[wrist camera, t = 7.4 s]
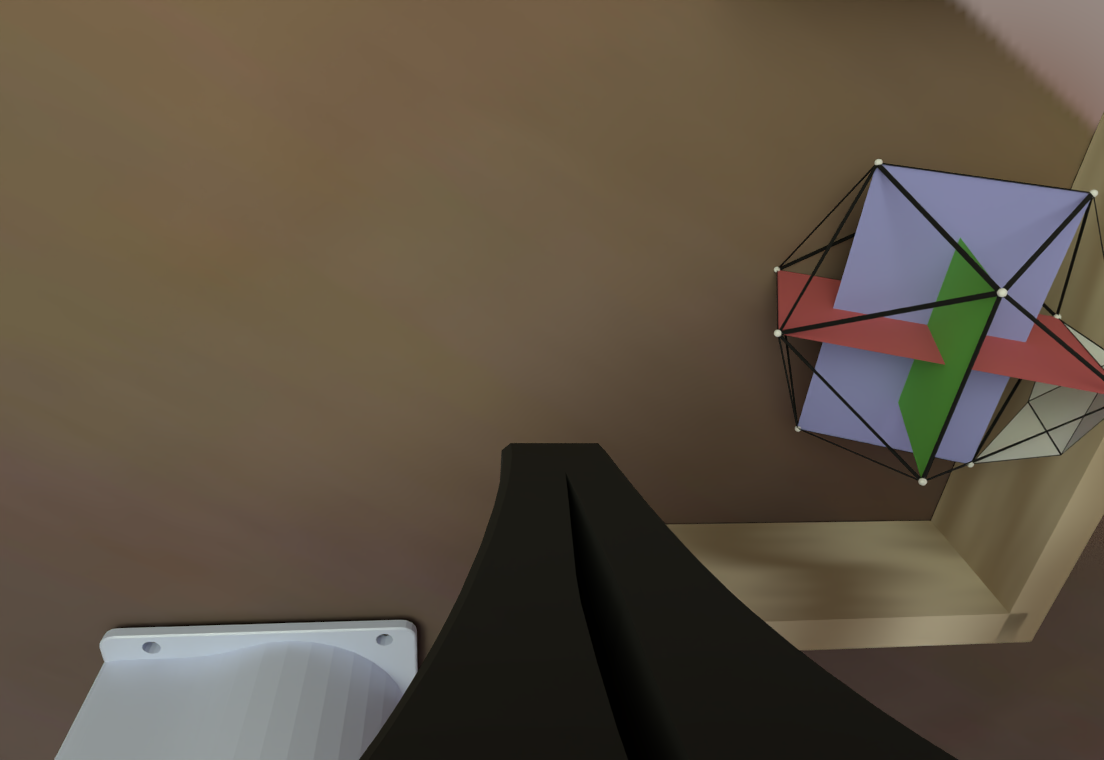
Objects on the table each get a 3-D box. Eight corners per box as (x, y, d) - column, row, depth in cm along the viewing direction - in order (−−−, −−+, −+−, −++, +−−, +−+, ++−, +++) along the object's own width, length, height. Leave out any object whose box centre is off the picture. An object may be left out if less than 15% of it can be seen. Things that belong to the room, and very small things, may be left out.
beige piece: (587, 554, 23) (610, 657, 20) (688, -207, 14) (763, -264, 10) (951, 547, 25) (1031, 641, 21) (1261, -137, 15) (1490, -167, 12)
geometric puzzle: (666, 423, 18) (999, 614, 14) (720, 145, 15) (1189, 268, 10) (809, 350, 23) (1098, 474, 18) (875, 123, 20) (1252, 201, 15)
